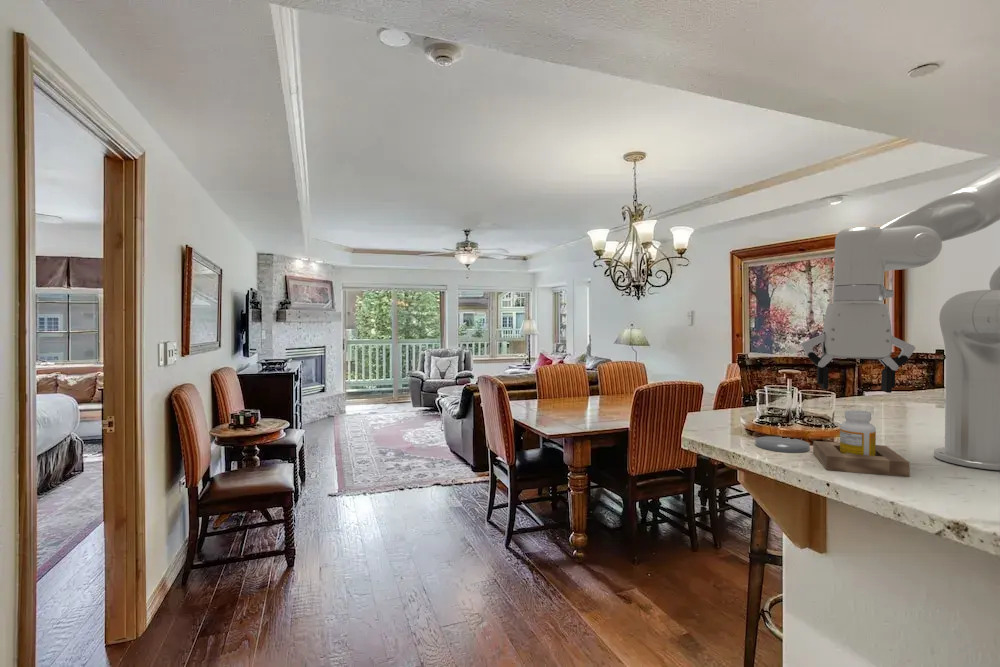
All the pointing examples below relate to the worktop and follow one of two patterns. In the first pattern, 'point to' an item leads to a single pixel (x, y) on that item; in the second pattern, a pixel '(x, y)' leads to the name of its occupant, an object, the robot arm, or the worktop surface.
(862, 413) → the supplement bottle
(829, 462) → the frame
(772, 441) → the coaster
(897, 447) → the worktop surface
